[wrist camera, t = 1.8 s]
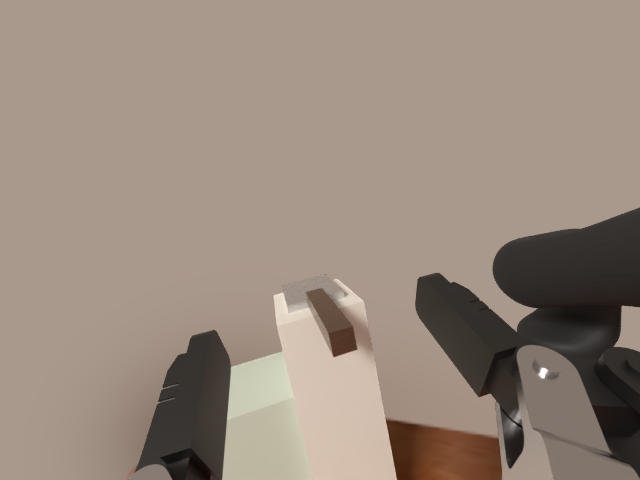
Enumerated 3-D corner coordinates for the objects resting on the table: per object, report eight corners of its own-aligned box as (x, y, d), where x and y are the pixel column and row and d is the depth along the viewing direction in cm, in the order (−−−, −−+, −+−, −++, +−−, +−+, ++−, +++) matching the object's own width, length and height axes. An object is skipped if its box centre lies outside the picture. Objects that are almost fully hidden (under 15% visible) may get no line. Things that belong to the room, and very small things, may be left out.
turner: (327, 280, 40) (324, 268, 40) (386, 340, 20) (382, 317, 20) (283, 291, 39) (280, 279, 38) (301, 367, 19) (296, 343, 19)
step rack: (366, 440, 46) (333, 275, 42) (405, 525, 33) (363, 301, 29) (254, 484, 42) (206, 308, 38) (249, 600, 29) (177, 354, 25)
